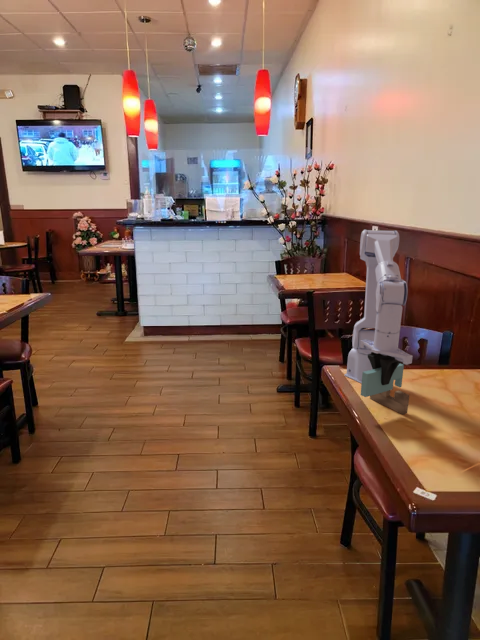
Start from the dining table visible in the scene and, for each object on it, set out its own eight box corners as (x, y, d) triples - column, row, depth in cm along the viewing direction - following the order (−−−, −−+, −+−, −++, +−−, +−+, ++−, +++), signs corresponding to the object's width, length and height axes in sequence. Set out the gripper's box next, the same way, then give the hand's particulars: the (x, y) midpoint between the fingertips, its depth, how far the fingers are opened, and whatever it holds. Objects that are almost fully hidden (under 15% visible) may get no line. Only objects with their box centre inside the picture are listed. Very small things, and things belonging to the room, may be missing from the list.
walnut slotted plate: (369, 398, 123) (371, 381, 122) (373, 397, 124) (375, 380, 123) (402, 414, 114) (405, 396, 113) (407, 413, 115) (409, 394, 114)
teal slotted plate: (360, 394, 112) (362, 371, 111) (396, 384, 119) (398, 363, 117) (365, 397, 111) (367, 374, 109) (401, 386, 117) (403, 364, 116)
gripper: (353, 325, 115) (349, 375, 118) (400, 340, 103) (393, 396, 106) (373, 322, 118) (368, 371, 122) (420, 336, 106) (414, 390, 110)
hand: (381, 382), depth 114 cm, fingers closed on teal slotted plate, 2 cm apart
